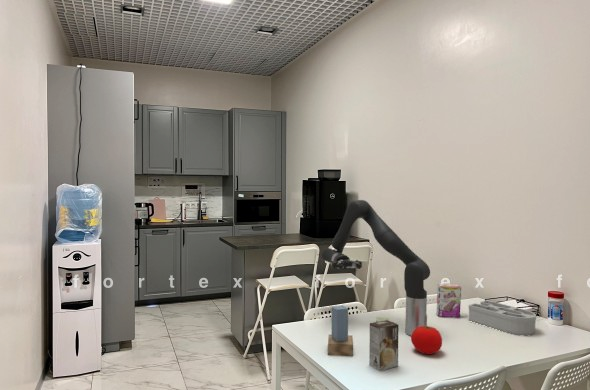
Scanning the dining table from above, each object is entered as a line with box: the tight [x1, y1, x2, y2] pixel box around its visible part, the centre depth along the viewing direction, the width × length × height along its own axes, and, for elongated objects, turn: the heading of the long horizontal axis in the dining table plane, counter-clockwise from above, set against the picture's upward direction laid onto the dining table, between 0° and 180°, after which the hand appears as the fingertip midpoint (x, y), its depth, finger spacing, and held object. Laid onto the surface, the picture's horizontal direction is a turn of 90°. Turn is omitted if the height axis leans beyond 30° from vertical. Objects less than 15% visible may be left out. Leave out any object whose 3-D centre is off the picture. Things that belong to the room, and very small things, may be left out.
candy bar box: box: [436, 283, 462, 318], centre depth 220 cm, size 11×5×16 cm, turn 84°
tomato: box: [410, 325, 443, 355], centre depth 173 cm, size 11×12×10 cm
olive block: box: [375, 317, 390, 322], centre depth 173 cm, size 5×5×13 cm
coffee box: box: [368, 319, 399, 372], centre depth 159 cm, size 9×6×16 cm
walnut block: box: [327, 333, 354, 357], centre depth 173 cm, size 10×10×5 cm
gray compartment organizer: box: [468, 300, 537, 337], centre depth 206 cm, size 17×28×9 cm, turn 35°
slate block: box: [331, 305, 349, 342], centre depth 173 cm, size 5×5×13 cm
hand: (351, 267), depth 195 cm, fingers open, 8 cm apart
